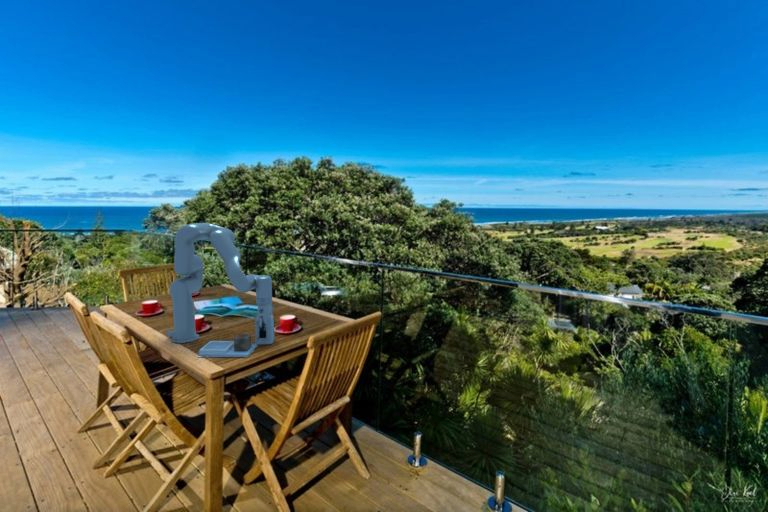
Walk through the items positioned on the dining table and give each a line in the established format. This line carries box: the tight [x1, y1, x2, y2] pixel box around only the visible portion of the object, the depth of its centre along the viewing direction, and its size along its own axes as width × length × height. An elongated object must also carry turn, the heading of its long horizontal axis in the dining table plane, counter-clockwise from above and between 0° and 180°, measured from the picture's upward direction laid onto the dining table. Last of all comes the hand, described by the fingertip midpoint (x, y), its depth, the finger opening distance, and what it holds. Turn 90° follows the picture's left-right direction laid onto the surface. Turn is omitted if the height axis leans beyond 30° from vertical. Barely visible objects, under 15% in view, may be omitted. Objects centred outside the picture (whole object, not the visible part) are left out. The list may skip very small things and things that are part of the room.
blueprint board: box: [197, 340, 258, 358], centre depth 180 cm, size 22×14×3 cm, turn 91°
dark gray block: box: [233, 333, 252, 351], centre depth 179 cm, size 6×6×6 cm
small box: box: [254, 315, 275, 345], centre depth 192 cm, size 8×6×13 cm
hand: (264, 335), depth 193 cm, fingers closed on small box, 6 cm apart
